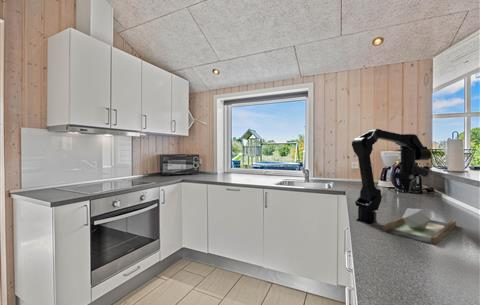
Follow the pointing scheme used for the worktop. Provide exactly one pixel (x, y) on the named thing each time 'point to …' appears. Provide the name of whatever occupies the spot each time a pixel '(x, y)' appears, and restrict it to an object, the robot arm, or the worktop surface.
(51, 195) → the worktop surface
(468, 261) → the worktop surface
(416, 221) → the die
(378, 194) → the robot arm
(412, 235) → the box
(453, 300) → the worktop surface
